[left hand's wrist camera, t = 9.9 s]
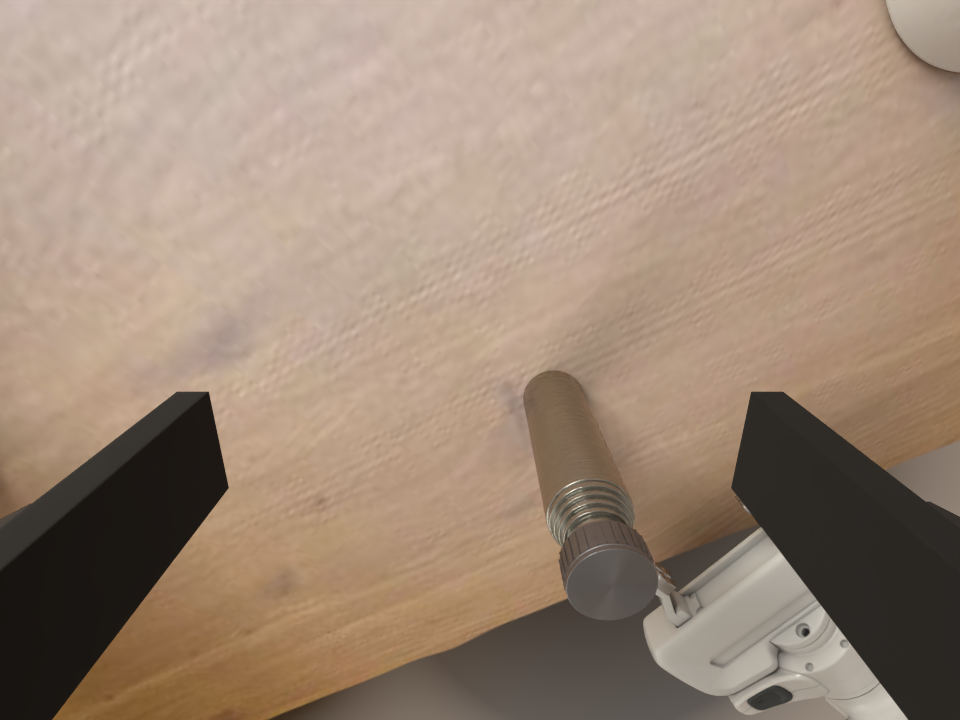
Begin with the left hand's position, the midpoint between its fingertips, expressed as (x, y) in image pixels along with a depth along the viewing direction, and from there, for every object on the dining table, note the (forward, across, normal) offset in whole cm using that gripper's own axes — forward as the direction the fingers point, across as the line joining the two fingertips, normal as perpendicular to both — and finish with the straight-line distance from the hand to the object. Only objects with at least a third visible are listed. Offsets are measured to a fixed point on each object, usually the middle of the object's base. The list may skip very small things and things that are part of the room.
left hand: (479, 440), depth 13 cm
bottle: (+26, -6, +11) cm, 29 cm away
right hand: (+20, -16, +20) cm, 32 cm away
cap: (+7, -6, +11) cm, 15 cm away
